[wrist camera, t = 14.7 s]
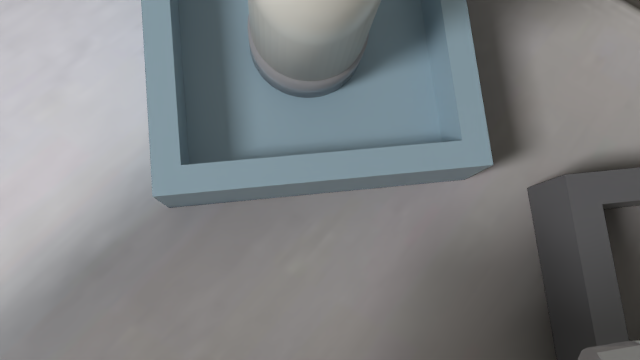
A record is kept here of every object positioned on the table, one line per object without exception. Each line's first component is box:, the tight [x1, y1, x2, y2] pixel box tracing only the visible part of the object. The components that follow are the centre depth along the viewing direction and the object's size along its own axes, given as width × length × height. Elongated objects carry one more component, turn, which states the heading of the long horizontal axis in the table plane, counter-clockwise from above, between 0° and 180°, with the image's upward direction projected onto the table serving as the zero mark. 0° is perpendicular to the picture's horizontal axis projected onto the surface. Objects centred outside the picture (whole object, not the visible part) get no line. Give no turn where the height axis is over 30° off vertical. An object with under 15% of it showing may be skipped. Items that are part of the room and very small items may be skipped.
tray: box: [141, 0, 493, 208], centre depth 22 cm, size 12×12×3 cm
